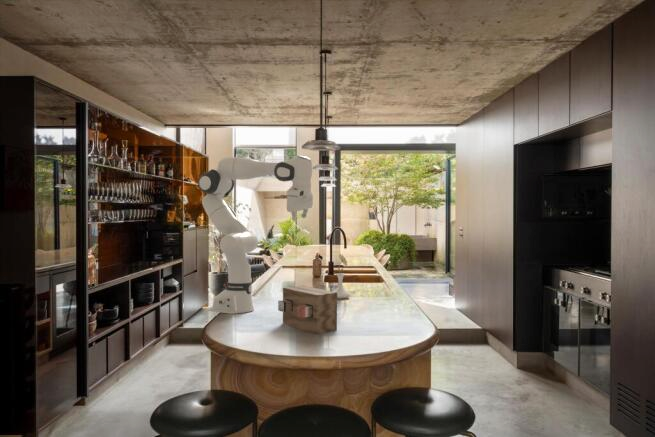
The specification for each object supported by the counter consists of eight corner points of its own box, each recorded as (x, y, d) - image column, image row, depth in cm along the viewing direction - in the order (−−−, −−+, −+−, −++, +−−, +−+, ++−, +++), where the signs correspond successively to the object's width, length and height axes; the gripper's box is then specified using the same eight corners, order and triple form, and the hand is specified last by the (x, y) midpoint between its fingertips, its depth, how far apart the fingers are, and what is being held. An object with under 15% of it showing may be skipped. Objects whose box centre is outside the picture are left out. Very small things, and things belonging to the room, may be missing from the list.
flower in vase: (350, 300, 283) (351, 255, 282) (330, 299, 283) (330, 255, 282) (349, 295, 296) (350, 253, 295) (330, 295, 296) (330, 253, 296)
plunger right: (303, 317, 206) (303, 307, 206) (297, 315, 209) (297, 305, 209) (318, 315, 211) (318, 305, 211) (312, 313, 214) (312, 303, 214)
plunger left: (283, 312, 217) (283, 302, 217) (278, 310, 220) (278, 300, 220) (298, 309, 222) (298, 300, 222) (293, 308, 225) (293, 298, 225)
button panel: (316, 334, 207) (316, 295, 206) (282, 323, 225) (283, 287, 225) (336, 330, 214) (337, 292, 213) (302, 320, 232) (302, 285, 232)
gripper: (305, 187, 249) (303, 215, 252) (285, 191, 231) (283, 221, 234) (317, 189, 247) (314, 217, 249) (297, 193, 229) (295, 223, 231)
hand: (299, 219), depth 241 cm, fingers open, 8 cm apart
